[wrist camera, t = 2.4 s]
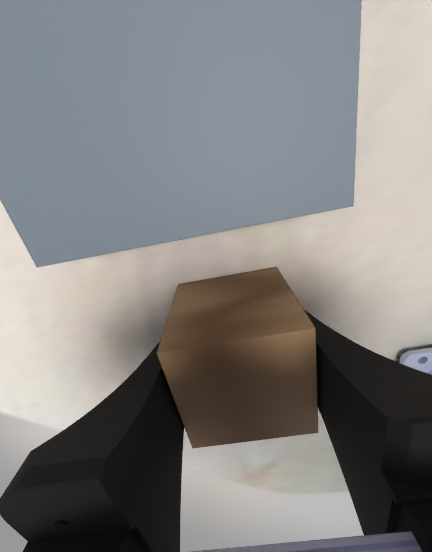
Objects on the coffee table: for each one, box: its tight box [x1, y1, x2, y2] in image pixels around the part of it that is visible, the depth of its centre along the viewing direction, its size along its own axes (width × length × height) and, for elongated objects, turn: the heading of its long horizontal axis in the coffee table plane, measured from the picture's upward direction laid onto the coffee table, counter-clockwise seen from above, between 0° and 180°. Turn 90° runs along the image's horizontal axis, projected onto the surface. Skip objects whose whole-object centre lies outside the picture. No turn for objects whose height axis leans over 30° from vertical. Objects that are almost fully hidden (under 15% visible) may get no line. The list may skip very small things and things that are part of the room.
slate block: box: [0, 0, 362, 267], centre depth 7 cm, size 11×11×4 cm
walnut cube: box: [157, 267, 318, 448], centre depth 11 cm, size 5×5×5 cm
